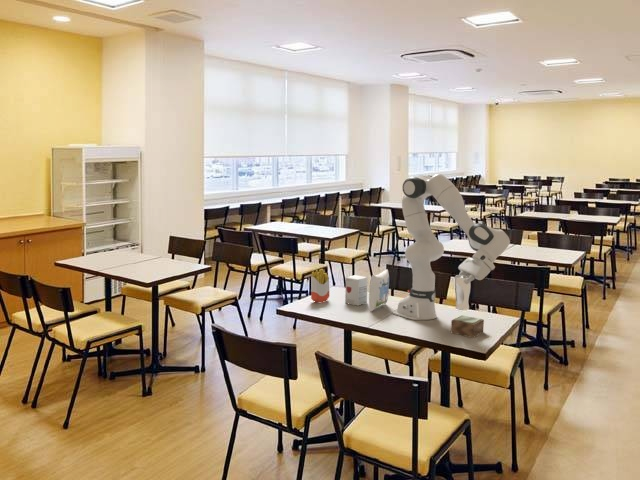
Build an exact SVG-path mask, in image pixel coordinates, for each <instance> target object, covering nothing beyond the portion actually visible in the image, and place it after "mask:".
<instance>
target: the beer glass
mask: <svg viewBox="0 0 640 480" xmlns="http://www.w3.org/2000/svg"><path fill="white" fill-rule="evenodd" d="M454 277H455V278H454V292H455V298H456V301H455V303H456V304H455V309H456V310H460V311H466V310H469V309H470V305H469V298H470V294H471V282H469V283H468V284H465V283H464V280H465V279H467V278H469V277H470V276H469V275H467V274H465V275H459V274H457V275H455V276H454Z"/></svg>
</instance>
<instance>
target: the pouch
mask: <svg viewBox="0 0 640 480" xmlns="http://www.w3.org/2000/svg"><path fill="white" fill-rule="evenodd" d="M389 287H390V275H389V270H388V268H387V269H385V270H383V271H382V272H380V273H378V274H376V275H375V274H372V275H371V277H370V280H369V293H368V304H369V306H368V308H369V311H370V312H373V311H374V310H376V309H377V308H379V307H380V306H381V305H386V304H387V303H388V301H389V300H388V299H389V289H390V288H389Z"/></svg>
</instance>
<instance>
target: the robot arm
mask: <svg viewBox="0 0 640 480" xmlns="http://www.w3.org/2000/svg"><path fill="white" fill-rule="evenodd" d="M402 192H403V194H404V196H403V197H402V199H401V208H402V215H403V218H404V222H405V225H406V230H407V233H409V235H410V236H412V237H413V239H414V241H415V242H413V243H411V244H409V245H408V246H407V247H406V249H405V251H404V257H405V259H406V260H407V262H408V263H409V264H410V267H411V270H412V271H411V272H412V287H411V288H410V289H407V293H409V294H408V295H407V296H405V297H404V298H402V299H401V300H400V301H399V302H398V304H397V309H394V310H393V311H392V314H393V315H395V316H399V317H402V318H406V319H409V320H412V321H418V320H419V321H420V320H421V321H422V320H423V321H425V320H428V321H429V320H433V319H436V318H437V312H436V305H435V303H436V302H435V300H436V287H435V285H436V284H435V283H436V274H435V272H433V270H432V266H431V262H434V261H437V260H438V259H440V258H441V257H442V256H443V255H444V252H445V248H444V244H443V243H442V242H441V241H440V240H439V239H437V237H436V235H435V233H434V232H433V230H432V229H431V226H430V223H429V220H428V217H427V213H426V209H425V206H424V201H425V200H426V201H428V200H429V199H430V198H432V197H433V198H434V199H435V200H436V202H437V203H438V204H439V205H440V206H441V208H442V209H444V210H445V212H446V213H448V215H449V216H451V217H452V218H453V219H454V220H455V222H456V224H457V225H459V227H460V228H461V230H462V231H463V233H465V235H466V237H467V239H468V240H467V241H468V244H469V247H470V249H472V250H473V251H475V252H474V253H473V255H472V257H467V258H466V259H464V260H463V261H462V262H461V263H460V264H459V265H458V267H457V269H458V270H459V274H458V275H468V276H470V277H469V278H467V279H465V280H464V283H465V284H468V283H469V282H470V283H471V282H472V281H474V280H475V279H476V280H478V281H481V280H484V278H485V277H487V276H488V275H489V274H490V272H491V271H494V270H495V268H496V266H495V264H494V262H495V261H496V259H497V258H498V257H500V256H502V254H503V253H504V252H505V251H506V250H507V249H508V247H509V245H510V243H511V239H510V237H509V235H508V233H506V231H504V230H503V229H500V228H499V229H496V228H493V227H491V226H487V225H486V224H484V223H482V222H479V223H474V221H473V219H472V218H471V217H470V215H469V214H468V212H467V209H466V206H465V201H464V198H463V196H462V193H461V192H460V190H459V189H458V188H457V187H456V185H454V183H453V182H452V181H451V180H450V179H449V178H448V177H446V176H445V175H444V174H442V173H437V174H434V175H416V176H410V177H408V178H407V179H404V182H403V183H402Z"/></svg>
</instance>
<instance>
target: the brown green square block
mask: <svg viewBox="0 0 640 480" xmlns="http://www.w3.org/2000/svg"><path fill="white" fill-rule="evenodd" d="M450 321H451V322H450V323H451V324H450V325H451V326H450V327H451V328H450V333H451V334H455V335H460V336H464V337H468V338H475V337H478V336H479V335H481V334H483V333H484V324H485V319H482V318H479V317H474V316H467V315H459V316H458V317H455V318H453V319H451V320H450Z"/></svg>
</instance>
